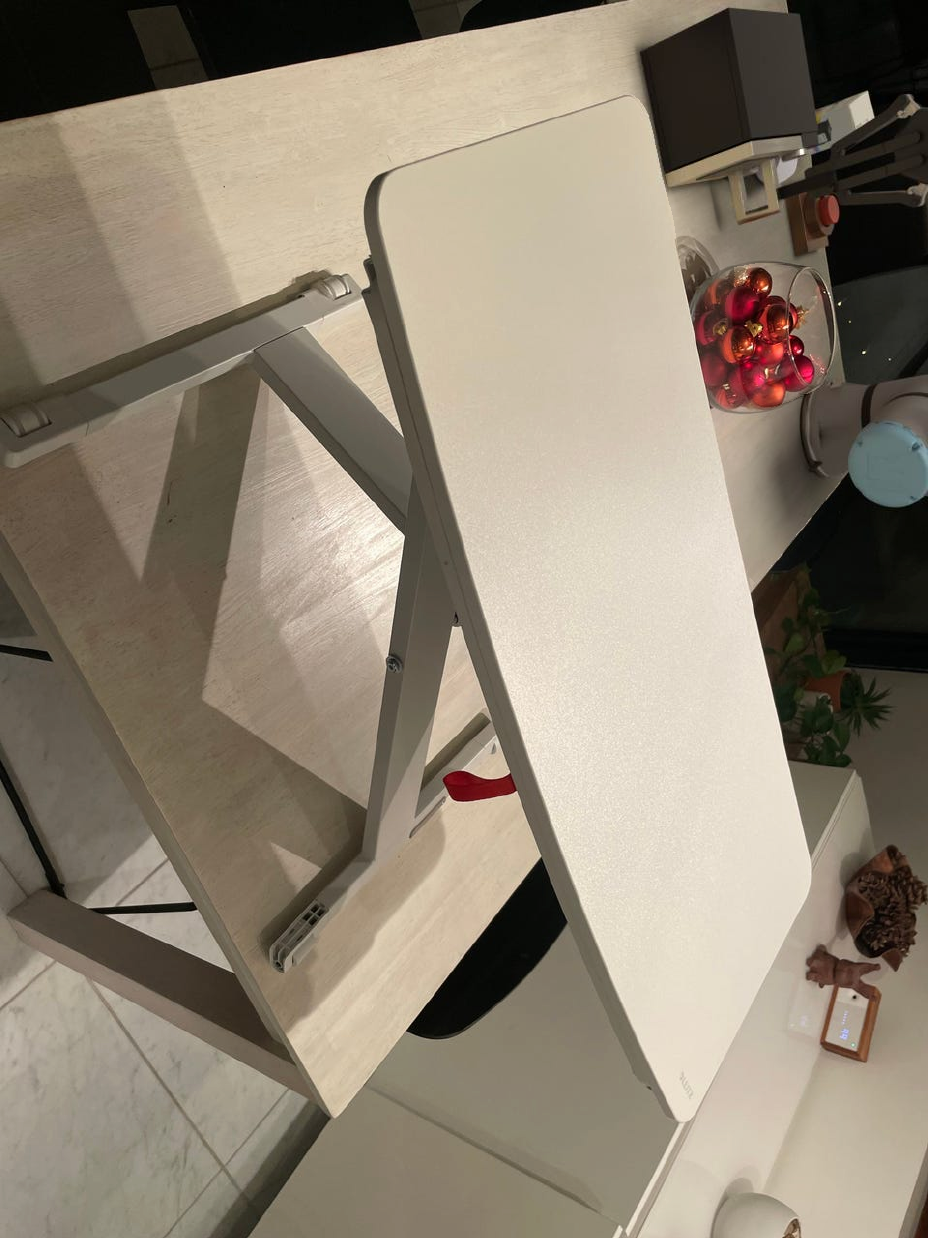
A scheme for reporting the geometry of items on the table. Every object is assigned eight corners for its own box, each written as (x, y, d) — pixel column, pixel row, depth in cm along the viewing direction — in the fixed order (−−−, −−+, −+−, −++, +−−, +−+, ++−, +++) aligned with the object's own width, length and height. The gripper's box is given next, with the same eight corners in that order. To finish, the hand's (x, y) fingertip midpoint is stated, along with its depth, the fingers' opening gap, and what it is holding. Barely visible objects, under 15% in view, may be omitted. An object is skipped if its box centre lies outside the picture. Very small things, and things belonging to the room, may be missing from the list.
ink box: (791, 118, 146) (869, 87, 138) (800, 150, 148) (877, 122, 140) (770, 133, 141) (850, 102, 133) (779, 166, 143) (858, 138, 135)
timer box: (815, 249, 152) (840, 242, 149) (795, 255, 146) (820, 248, 144) (804, 183, 149) (829, 175, 146) (783, 188, 144) (808, 179, 141)
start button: (829, 224, 147) (840, 221, 146) (819, 227, 144) (831, 223, 143) (825, 197, 146) (836, 193, 145) (815, 199, 143) (826, 196, 142)
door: (730, 228, 131) (812, 202, 123) (678, 241, 122) (764, 214, 114) (718, 165, 129) (801, 134, 121) (664, 174, 119) (751, 140, 111)
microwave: (738, 179, 133) (821, 149, 125) (667, 192, 120) (755, 159, 112) (714, 53, 129) (799, 13, 121) (638, 51, 116) (728, 6, 107)
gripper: (964, 66, 104) (762, 141, 120) (978, 191, 107) (780, 247, 124) (983, 66, 109) (786, 138, 125) (995, 185, 112) (803, 240, 129)
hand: (783, 192), depth 124 cm, fingers closed
